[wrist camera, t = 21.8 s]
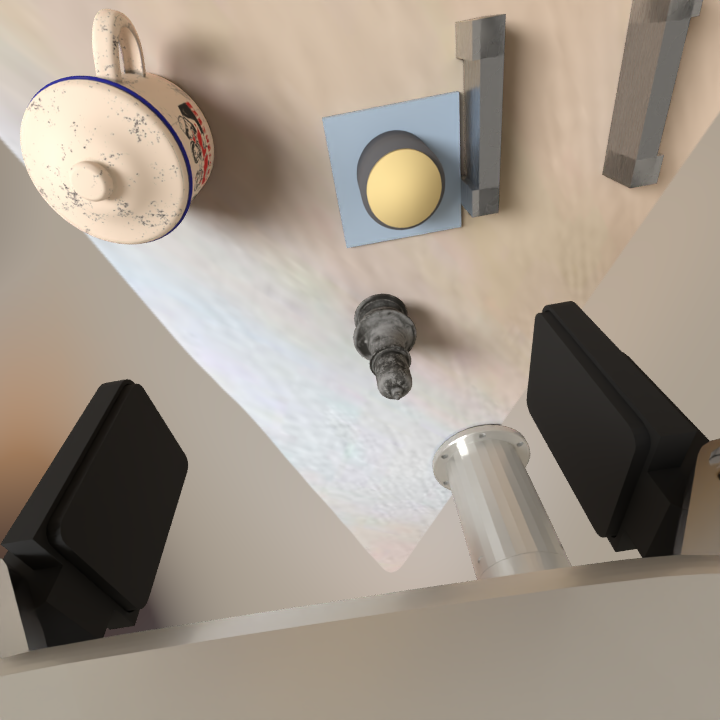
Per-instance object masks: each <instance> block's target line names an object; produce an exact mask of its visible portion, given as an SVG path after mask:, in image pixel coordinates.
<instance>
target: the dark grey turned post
mask: <svg viewBox="0 0 720 720" xmlns="http://www.w3.org/2000/svg"><path fill="white" fill-rule="evenodd" d="M354 321H355V326H356V329H355V331H354V336H353V339H354V345H355V348H356V350H357V351H358V352H359V354H360V355H361V356H362V357H364V358H366V359H367V360H370V369H371V371H372V373H373V374H374V375H376V380H377V386H378V389H379V391H380V393H381V394H382V395H383V396H384V397H386V398H389V399H396V400H399V399H400V398H402V397H404V396H405V395H406V394H407V393H408V392H409V391H410V390H411V387H412V377H411V374H410V370H409V367H410V365H411V356H410V354H409V351H410V350H411V349H412V347H413V345H414V344H415V340H416V328H415V325H414V323H413V322H412V320H411V319H410V318H409V317H408V316H407V310H406V307H405V305H404V304H403V303H402V301H401V300H399V299H398V298H397V297H395V296H392V295H389V294H377V295H373V296H370V297H368V298H367V299H365V300H364V301H362V302H361V304H360V305H359V306H358V307H357V309H356V311H355V316H354Z"/></svg>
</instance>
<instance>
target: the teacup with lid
mask: <svg viewBox="0 0 720 720" xmlns="http://www.w3.org/2000/svg"><path fill="white" fill-rule="evenodd" d="M118 43H119V46H120V50H121V54H122V60H123V67H124V72H123V73H121V70H120V62H119V50H118ZM92 47H93V56H94V63H95V69H96V75H97V77H92V76H71V77H66V78H61V79H59V80H56V81H53V82H51V83H50V84H48V85H46V86H45V87H43V88H42V89H41V90H40V91H39V92H38V93H36V94H35V96H34V97H33V98H32V100H31V101H30V103H29V105H28V106H27V109H26V111H25V114H24V116H23V120H22V124H21V131H20V142H21V150H22V155H23V159H24V162H25V165H26V168H27V171H28V173H29V175H30V177H31V179H32V181H33V183H34V185H35V186H36V188H37V190H38V191H39V192H40V194H41V195H42V197H43V198H44V199H45V200H46V202H48V204H49V205H50V206H51V207H52V208H53V209H54V210H55V211H56V212H57V213H58V214H59V215H60V216H61V217H63V218H64V219H65V220H66V221H68V222H69V223H71V224H72V225H74V226H75V227H77V228H78V229H80V230H81V231H83V232H85V233H87V234H89V235H92V236H94V237H96V238H99V239H102V240H105V241H109V242H113V243H119V244H141V243H147V242H152V241H155V240H158V239H160V238H162V237H164V236H166V235H168V234H169V233H170V232H172V231H173V230H174V229H175V228H176V227H177V226H178V225H179V224H180V223H181V222H182V220H183V219H184V217H185V215H186V213H187V211H188V209H189V206H190V203H191V202H192V200H193V199H194V198H195V196H196V195H197V194H198V192H199V191H200V190H201V189H202V187H203V186H204V185H205V183H206V182H207V180H208V178H209V176H210V174H211V171H212V167H213V162H214V144H213V138H212V134H211V131H210V128H209V126H208V123H207V121H206V119H205V117H204V115H203V114H202V112H201V110H200V109H199V107H198V106H197V105H196V103H195V102H194V101H193V100H192V99H191V98H190V97H189V96H188V95H187V94H186V93H185V92H184V91H183V90H182V89H180V88H179V87H178V86H176V85H175V84H174V83H172V82H170V81H168V80H167V79H165V78H162V77H160V76H157V75H155V74H151V73H147V72H145V63H144V57H143V51H142V47H141V43H140V40H139V37H138V34H137V32H136V30H135V28H134V26H133V24H132V23H131V21H130V20H129V19H128V18H127V16H125V15H124V14H123V13H121V12H119V11H115V10H111V9H102V10H100V11H99V12H98V13H97V14H96V16H95V19H94V23H93V30H92Z"/></svg>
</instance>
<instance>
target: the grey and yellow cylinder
mask: <svg viewBox="0 0 720 720" xmlns="http://www.w3.org/2000/svg"><path fill="white" fill-rule="evenodd" d="M357 182H358V186H359V190H360V194H361V198H362V202H363V205H364V207H365V209H366V211H367V213H368V214H369V215H370V217H371V218H372V219H373V220H374V221H375V222H377V223H378V224H380V225H381V226H383V227H386V228H388V229H392V230H407V229H411V228H414V227H417V226H419V225H421V224H422V223H424V222H425V221H427V220H428V219H429V218H430V217H431V216H432V215H433V214H434V213H435V211H436V210H437V209H438V207H439V205H440V203H441V201H442V198H443V195H444V191H445V174H444V170H443V167H442V164H441V162H440V161H439V159H438V157H437V156H436V155H435V154H434V153H433V152H432V151H431V150H430V149H429V148H428V146H427V145H426V144H425V143H424V142H423V141H422V140H421V139H420V138H418V137H417V136H416V135H414V134H412V133H410V132H407V131H402V130H392V131H387V132H384V133H382V134H379V135H378V136H376V137H375V138H373V139H372V140H371V141H370V142H369V143H368V144H367V145H366V147H365V148H364V149H363V151H362V153H361V155H360V158H359V161H358V164H357Z"/></svg>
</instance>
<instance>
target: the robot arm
mask: <svg viewBox="0 0 720 720" xmlns="http://www.w3.org/2000/svg"><path fill="white" fill-rule="evenodd" d="M527 405H528V409H529V412H530V414H531V416H532V418H533V420H534V421H535V423H536V425H537V427H538V429H539V430H540V432H541V434H542V436H543V438H544V440H545V441H546V443H547V445H548V447H549V449H550V450H551V452H552V454H553V456H554V457H555V459H556V461H557V463H558V465H559V467H560V468H561V470H562V472H563V474H564V476H565V477H566V479H567V481H568V483H569V485H570V486H571V488H572V490H573V492H574V494H575V495H576V497H577V499H578V501H579V502H580V504H581V506H582V508H583V510H584V511H585V513H586V515H587V517H588V519H589V521H590V522H591V524H592V526H593V528H594V529H595V531H596V533H597V534H598V535H599V536H600V537H607V538H608V540H609V542H610V543H611V545H612V547H613V549H614V550H615V552H619V551H625V550H632V549H638V551H639V553H640V554H641V556H642V558H637V559H626V560H619V561H611V562H604V563H596V564H588V565H581V566H571V563H570V562H569V560H568V557H567V555H566V553H565V551H564V549H563V547H562V545H561V543H560V541H559V538H558V536H557V534H556V532H555V530H554V528H553V526H552V523H551V521H550V519H549V517H548V515H547V513H546V511H545V509H544V507H543V505H542V503H541V500H540V498H539V496H538V494H537V492H536V490H535V488H534V486H533V484H532V481H531V479H530V477H529V475H528V473H527V471H526V469H525V467H526V465H527V464H528V461H529V457H530V449H529V446H528V443H527V442H526V440H525V438H524V437H523V436H522V435H521V434H520V433H519V432H518V431H516V430H514V429H512V428H509V427H506V426H500V425H484V426H477V427H473V428H469V429H467V430H464V431H462V432H459V433H457V434H456V435H454V436H452V437H451V438H449V439H448V440H447V441H445V442H444V443H443V444H442V445H441V446H440V447H439V449H438V450H437V452H436V453H435V455H434V458H433V464H432V467H433V472H434V475H435V478H436V480H437V481H438V482H439V483H440V484H441V485H442V486H443V487H445V488H447V489H449V490H451V491H452V495H453V498H454V502H455V505H456V509H457V512H458V516H459V519H460V523H461V526H462V530H463V533H464V536H465V540H466V543H467V547H468V550H469V554H470V557H471V561H472V564H473V568H474V571H475V575H476V578H477V580H474V581H467V582H461V583H454V584H447V585H440V586H434V587H427V588H420V589H413V590H406V591H400V592H393V593H387V594H381V595H374V596H367V597H361V598H355V599H347V600H340V601H334V602H328V603H321V604H315V605H308V606H302V607H295V608H288V609H282V610H276V611H269V612H262V613H256V614H249V615H243V616H236V617H230V618H224V619H217V620H212V621H205V622H198V623H192V624H186V625H179V626H173V627H167V628H161V629H154V630H148V631H142V632H135V633H130V634H122V635H117V636H111V637H105V638H103V637H104V634H105V631H106V628H109V629H117V628H123V627H129V626H134V625H135V623H136V620H137V617H138V613H139V610H140V609H142V608H143V607H144V606H145V605H146V603H147V601H148V598H149V595H150V592H151V589H152V586H153V582H154V579H155V575H156V572H157V569H158V566H159V563H160V559H161V556H162V553H163V549H164V546H165V542H166V540H167V536H168V533H169V530H170V526H171V523H172V519H173V516H174V513H175V510H176V507H177V503H178V500H179V497H180V494H181V490H182V487H183V483H184V480H185V477H186V474H187V470H188V461H187V457H186V455H185V454H184V452H183V451H182V449H181V447H180V446H179V444H178V443H177V441H176V440H175V438H174V436H173V435H172V433H171V431H170V430H169V428H168V427H167V425H166V423H165V422H164V420H163V419H162V417H161V416H160V414H159V412H158V411H157V409H156V408H155V406H154V404H153V403H152V401H151V400H150V398H149V396H148V395H147V393H146V392H145V390H144V388H143V387H142V386H141V385H140V384H135V383H134V382H133V381H131V380H128V379H126V380H120V381H114V382H109V383H104V384H102V385H101V386H100V387H99V388H98V390H97V392H96V393H95V395H94V396H93V398H92V399H91V401H90V403H89V404H88V406H87V407H86V409H85V411H84V412H83V414H82V415H81V417H80V418H79V420H78V422H77V423H76V425H75V426H74V428H73V430H72V431H71V433H70V435H69V436H68V438H67V439H66V441H65V442H64V444H63V446H62V447H61V449H60V450H59V452H58V454H57V455H56V457H55V458H54V460H53V462H52V463H51V465H50V467H49V468H48V470H47V471H46V473H45V474H44V476H43V477H42V479H41V481H40V482H39V484H38V485H37V487H36V489H35V490H34V492H33V493H32V495H31V497H30V498H29V500H28V502H27V503H26V505H25V506H24V508H23V509H22V511H21V513H20V514H19V516H18V517H17V519H16V521H15V522H14V524H13V525H12V527H11V528H10V530H9V532H8V533H7V535H6V537H5V538H4V540H3V541H2V543H1V545H2V546H3V547H5V548H6V549H7V550H8V552H7V553H6V555H5V557H4V558H3V559H0V720H720V439H716V440H712V441H709V440H708V439H707V438H706V437H705V436H704V435H703V433H701V431H700V430H699V429H698V428H697V427H696V426H695V425H694V424H693V423H692V422H691V421H690V420H689V419H688V418H687V417H686V416H685V415H684V414H683V413H682V412H681V411H680V410H679V408H678V407H677V406H676V405H675V404H674V403H673V402H672V401H671V400H670V399H669V398H668V397H667V396H666V395H665V394H664V393H663V392H662V391H661V390H660V389H659V388H658V387H657V386H656V384H655V383H654V382H653V381H652V380H651V379H650V378H649V377H648V376H647V375H646V374H645V373H644V372H643V371H642V370H641V369H640V368H639V367H638V366H637V365H636V364H635V363H634V362H633V361H632V359H631V358H630V357H629V356H627V355H626V354H625V353H623V352H621V351H620V350H619V348H618V347H617V346H615V344H614V343H613V342H612V341H611V340H610V339H609V338H608V337H607V336H606V335H605V334H604V333H603V332H602V331H601V330H600V328H598V326H597V325H596V324H595V323H594V322H593V321H592V320H591V319H590V318H589V317H588V316H587V315H586V314H585V313H584V312H583V311H582V310H581V309H580V307H579V306H578V305H577V304H576V303H574V302H573V301H568V302H563V303H557V304H551V305H546V306H545V307H544V308H543V311H542V313H538V314H537V315H536V317H535V324H534V334H533V343H532V353H531V362H530V372H529V381H528V391H527Z"/></svg>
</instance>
